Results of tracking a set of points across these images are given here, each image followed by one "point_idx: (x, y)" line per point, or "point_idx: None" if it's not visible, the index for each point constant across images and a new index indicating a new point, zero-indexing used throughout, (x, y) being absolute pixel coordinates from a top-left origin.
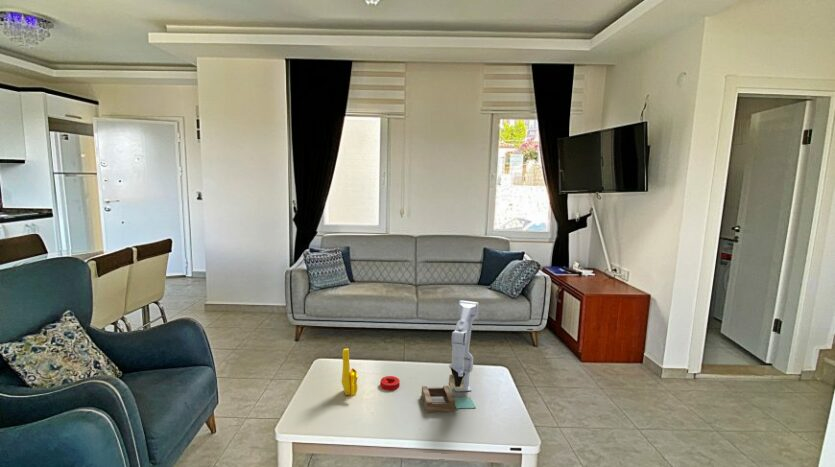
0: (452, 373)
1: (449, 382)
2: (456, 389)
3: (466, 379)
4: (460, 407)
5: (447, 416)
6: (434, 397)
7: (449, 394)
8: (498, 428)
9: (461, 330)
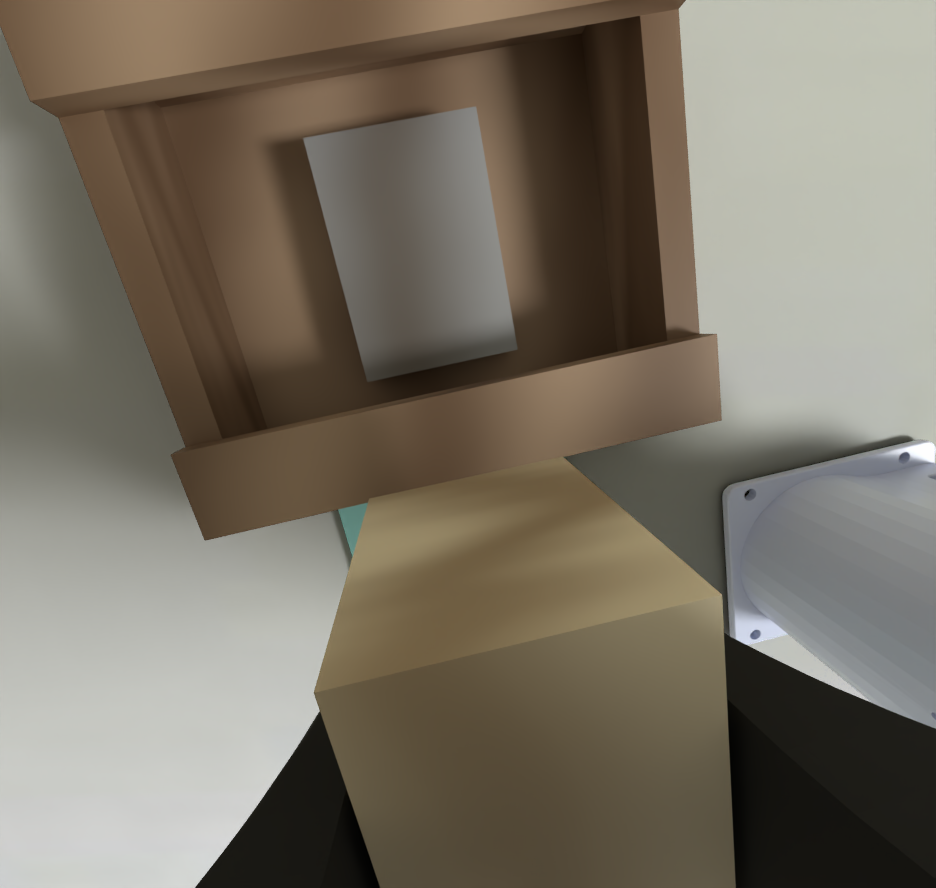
0: (778, 755)
1: (519, 502)
2: (754, 499)
3: (862, 691)
4: None
5: (133, 396)
6: (467, 195)
7: (429, 443)
8: (73, 873)
9: None
